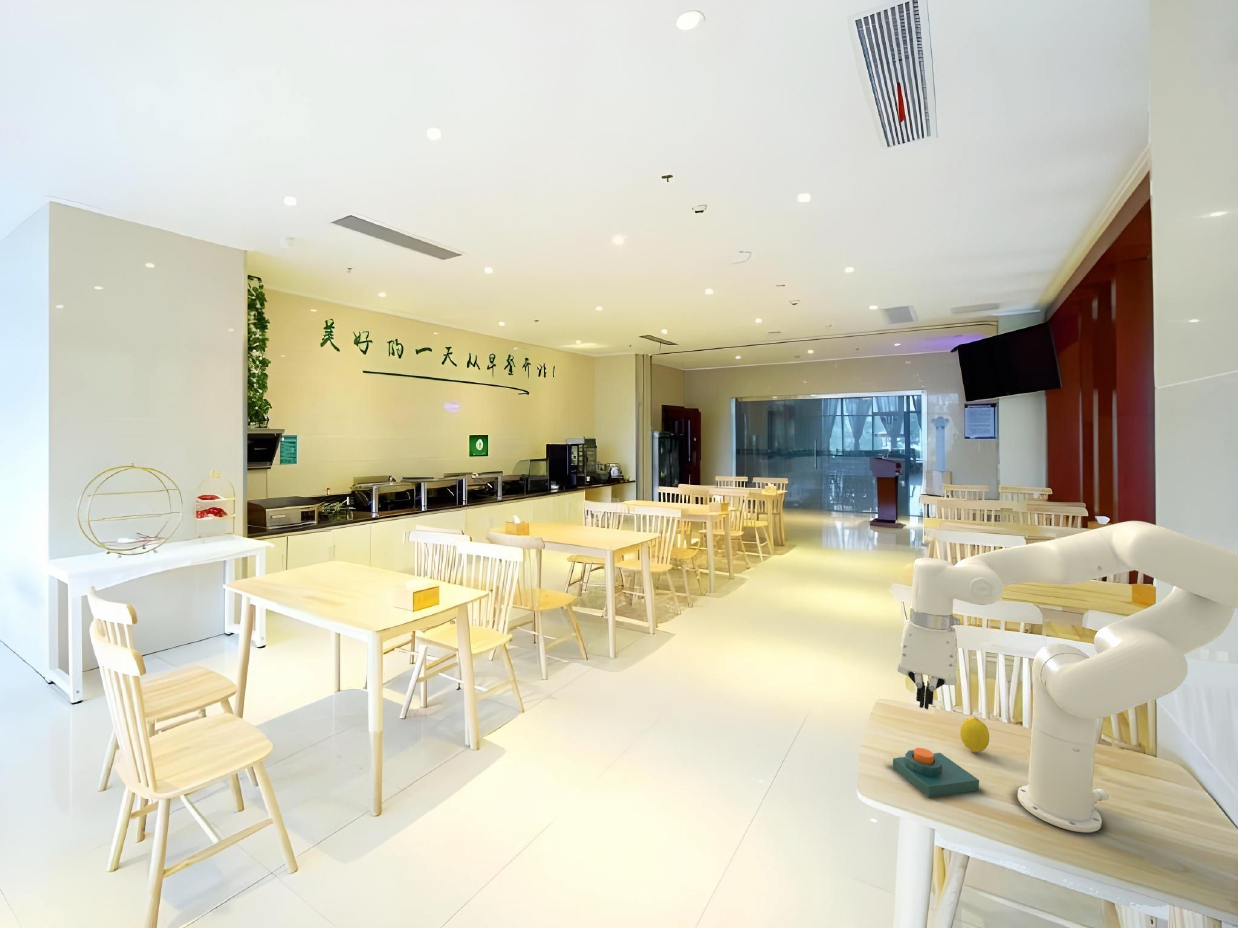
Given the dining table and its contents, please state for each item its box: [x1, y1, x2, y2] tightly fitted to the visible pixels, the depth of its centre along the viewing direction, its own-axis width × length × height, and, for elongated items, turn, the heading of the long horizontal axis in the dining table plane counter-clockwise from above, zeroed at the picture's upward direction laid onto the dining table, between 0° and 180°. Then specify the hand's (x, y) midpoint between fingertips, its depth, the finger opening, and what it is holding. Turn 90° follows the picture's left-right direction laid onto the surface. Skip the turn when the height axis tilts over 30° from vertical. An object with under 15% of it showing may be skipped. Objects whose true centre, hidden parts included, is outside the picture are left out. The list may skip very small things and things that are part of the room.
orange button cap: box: [913, 747, 934, 765], centre depth 116 cm, size 4×4×2 cm
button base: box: [892, 749, 980, 798], centre depth 115 cm, size 12×10×4 cm
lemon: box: [959, 717, 990, 754], centre depth 126 cm, size 6×6×8 cm
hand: (924, 705), depth 115 cm, fingers closed
